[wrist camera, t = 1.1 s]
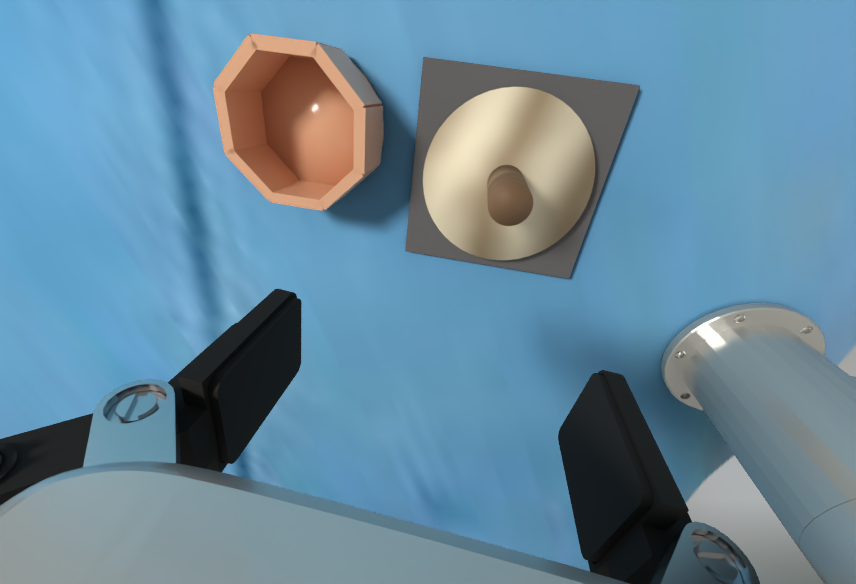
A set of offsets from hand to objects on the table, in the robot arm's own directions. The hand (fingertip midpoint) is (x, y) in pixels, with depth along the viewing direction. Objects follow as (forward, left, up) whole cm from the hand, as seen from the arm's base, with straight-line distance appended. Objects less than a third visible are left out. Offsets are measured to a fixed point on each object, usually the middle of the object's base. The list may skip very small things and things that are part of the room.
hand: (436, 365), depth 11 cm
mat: (-3, -2, -21) cm, 22 cm away
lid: (-3, -2, -21) cm, 21 cm away
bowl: (+13, -4, -22) cm, 25 cm away
